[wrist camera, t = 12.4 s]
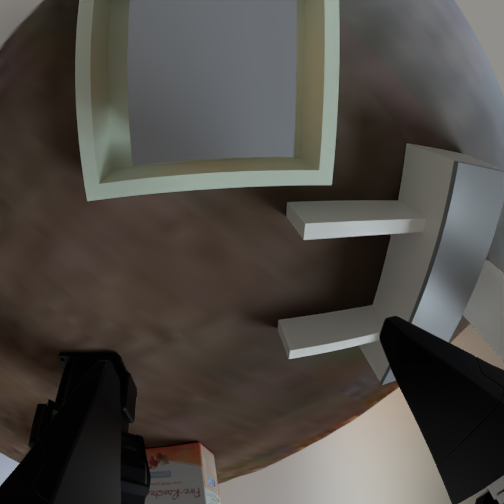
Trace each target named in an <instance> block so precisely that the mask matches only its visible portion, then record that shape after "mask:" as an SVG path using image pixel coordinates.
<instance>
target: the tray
mask: <svg viewBox="0 0 504 504" xmlns="http://www.w3.org/2000/svg"><path fill="white" fill-rule="evenodd" d="M129 7H130V0H79V8H78V19H77V32H76V53H75V90H76V112H77V126H78V137H79V147H80V156H81V164H82V171H83V178H84V184H85V190H86V196H87V201H93V200H100V199H108V198H117V197H125V196H134V195H144V194H154V193H165V192H176V191H189V190H202V189H218V188H236V187H259V186H293V185H332V179H333V168H334V156H335V144H336V129H337V113H338V91H339V0H297V63H296V106H295V135H294V157H246V158H221V159H203V160H188V161H176V162H165V163H154V164H145V165H136V166H133V165H132V155H131V143H130V129H129V112H128V81H127V52H128V23H129Z"/></svg>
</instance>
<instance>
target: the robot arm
mask: <svg viewBox="0 0 504 504" xmlns="http://www.w3.org/2000/svg"><path fill="white" fill-rule="evenodd" d="M379 339H380V343H381V345H382V348H383V350H384V353H385V355H386V358H387V360H388V363H389V365H390V368H391V370H392V373H393V375H394V377H395V379H396V381H397V383H398V385H399V387H400V389H401V391H402V393H403V395H404V397H405V399H406V401H407V403H408V405H409V407H410V409H411V411H412V413H413V415H414V417H415V420H416V421H417V424H418V426H419V428H420V430H421V432H422V434H423V436H424V439H425V441H426V443H427V445H428V447H429V449H430V452H431V454H432V456H433V459H434V461H435V463H436V466H437V468H438V470H439V473H440V475H441V478H442V480H443V482H444V485H445V487H446V490H447V492H448V495H449V497H450V500H451V502H452V504H458V503H460V502H462V501H464V500H466V499H467V498H469V497H471V496H473V495H474V494H476V493H478V492H479V491H481V490H482V489H484V488H486V487H487V488H488V490H487V491H486V492H484V493H483V494H482V495H481V496H479V497H478V498H477V499H476V503H475V504H504V370H502V369H500V368H498V367H496V366H493V365H491V364H489V363H487V362H485V361H483V360H481V359H479V358H478V357H475V356H474V355H472V354H470V353H468V352H466V351H464V350H462V349H460V348H458V347H456V346H454V345H452V344H451V343H449V342H447V341H445V340H443V339H441V338H439V337H437V336H435V335H433V334H431V333H429V332H427V331H425V330H423V329H421V328H420V327H418V326H416V325H414V324H412V323H410V322H408V321H406V320H404V319H402V318H400V317H398V316H391V317H387V318H386V319H385V320H384V323H383V326H382V329H381V332H380V335H379ZM58 360H59V361H60V363H61V365H62V366H63V368H64V372H63V375H62V378H61V382H60V385H59V389H58V393H57V397H56V400H55V402H54V401H52V400H50V399H49V400H48V403H47V405H46V404H38V405H37V408H36V412H35V416H34V420H33V424H32V429H31V434H30V439H29V444H28V447H29V448H30V451H29V452H28V454H27V455H26V456H25V458H24V459H23V460H22V461H21V462H20V464H19V465H18V466H17V467H16V468H15V470H14V471H13V472H12V473H11V474H10V475H9V477H8V478H7V479H6V480H5V481H4V482H3V484H2V485H1V486H0V504H145V498H146V496H147V495H148V492H149V489H150V482H151V475H150V469H149V465H148V460H147V455H146V450H145V445H144V440H143V437H142V436H139V435H133V434H130V433H128V427H129V423H133V422H134V418H135V403H136V397H137V388H136V386H135V383H134V381H133V379H132V377H131V375H130V373H129V372H128V371H127V370H126V368H125V366H124V363H123V361H122V359H121V357H120V355H118V354H116V353H59V355H58Z"/></svg>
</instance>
